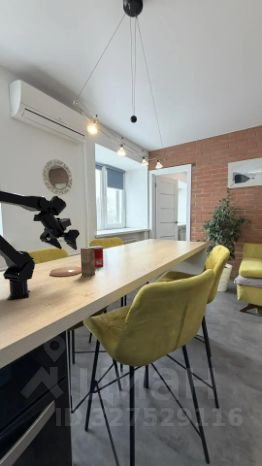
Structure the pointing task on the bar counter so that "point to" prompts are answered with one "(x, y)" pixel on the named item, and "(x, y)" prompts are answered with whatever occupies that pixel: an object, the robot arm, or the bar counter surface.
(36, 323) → the bar counter surface
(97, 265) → the canned food
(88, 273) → the walnut block
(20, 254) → the robot arm
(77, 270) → the terracotta dish
